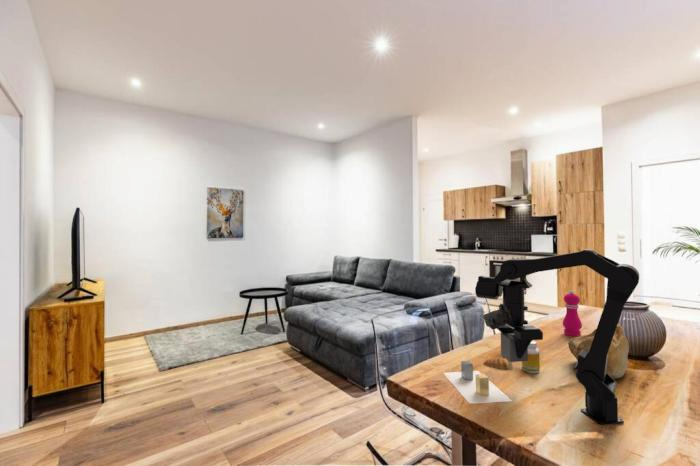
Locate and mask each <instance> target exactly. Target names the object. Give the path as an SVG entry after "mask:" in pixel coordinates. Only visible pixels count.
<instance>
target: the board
mask: <svg viewBox="0 0 700 466" xmlns="http://www.w3.org/2000/svg"><path fill="white" fill-rule="evenodd" d="M476 374H482V373H481V372H480V371H479V370H473V380H464V379H463V378H462V376H461V371H454V372H452V371H451V372H443V375H444V376H445V377H446V378H447V379H448V380H449V382H450V383H451V384H452V385H453V387H455V389H456V390H457V391H458V392H459V393H460V395H462V397H463V398H464V399H465V400H466V402H467V403H468V404H469V405H474V404H489V403H503V402H504V403H506V402H507V403H508V402H513V400H512V399H511V398H509V397H508V396H507V395H506V394H505V393H504V392H503V391H501V390H500V388H498V387H497V386H496V385H495V384H494V383H493V382H492V381H490V380H489V395H488V396H480V395H479V394H478V393H477V392H476Z"/></svg>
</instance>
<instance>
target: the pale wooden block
mask: <svg viewBox="0 0 700 466" xmlns="http://www.w3.org/2000/svg"><path fill="white" fill-rule="evenodd" d="M489 381H490V379H489V377H488V376H487V374H485V373H481V374H476V392H477V393H478V394H479V395H480V396H488V395H489Z"/></svg>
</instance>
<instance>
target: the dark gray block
mask: <svg viewBox="0 0 700 466" xmlns="http://www.w3.org/2000/svg"><path fill="white" fill-rule="evenodd" d="M510 335H515V334H514V333H501V332H500V355H501V357H502V358H504V359H507V360H508V361H510V362H512V363H514V362H516V363H517V362H520V363H521V362H522V361H528V348H527V349H526V351H525V353H524V355H523V356H522V358H517V354H516V346H515V340H514V339H513V338H512V337H511V336H510Z"/></svg>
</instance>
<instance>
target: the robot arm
mask: <svg viewBox="0 0 700 466" xmlns="http://www.w3.org/2000/svg"><path fill="white" fill-rule="evenodd" d="M581 266H586V267H587V268H589V269H590V270H593V272H595V273H597V274H598V275H600V276H602V277H604V278H606V279H607V283H606V297H605V298H606V301H605V303H604V306H603V309H602V311H601V315H600V317H599V321H598V324H597V327H596V333H595V336H594V339H593V342H592V345H591V347H590V349H589V350H588V352H587V351H585V350H583V349H582V350H581V352H580V354H579V356H578V361H577V362H576V364H575V365H574V368H573V370H574V371H576V373H575V375H576V380H577V381H578V382H579V383H580V384H581V385H582V386H583V387H584V389H585V391H584V393H585V394H584V398H585V400H584V401H585V403H584V405H585V407H584V408H580V412H582V413H583V414H584V415H586V416H587V417H589V418H590V419H592V420H593V421H594V422H596V423H597V424H599V425H608V424H609V425H610V424H623V423H625V420H624V419H623V418H621V417H619V415H618V414H619V413H618V411H619V410H618V409H619V407H618V405H619V404H618V397H617V396H616V390H617V389H616V388H617V381H616V380H615V379H613V378H612V377H611V376H610V375H609V374H608V373H607V372H606V369H607V357H608V351H609V348H610V345H611V342H612V339H613V336H614V333H615V330H616V327H617V324H619V321H620V318H621V315H622V314H623V313H622V312H623V309H624V307H625V305H626V304H627V301H628V300H629V298H630V297H631V296H632V294H633V292H634V291H635V289H636V288H637V286H638V285H639V282H640V273H639V271H638V270H637V268H636V267H634V266H633V265H630V264H626V263H621V264H620V263H618V262H616V261H615V260H612V259H611V258H608V257H606V256H604V255H602V254H600V253H598V252H597V251H595V250H593V249H591V248H586V249H582V250H580V251H574V252H573V251H572V252H567V253H563V254H562V253H561V254H556V255H550V256H544V257H540V258H539V257H538V258H529V257H527V258H525V257H524V258H523V257H522V258H521V257H520V258H511V259H507V260H504V261H503V262H502V263H501V264H500V267H499V270H500V271H498V273H497V274H496V275H495V276H494V277H492V276H485V275H478V279H477V282H476V285H475V288H474V289H475V291H474V292H475V296H476V297H477V298H479V299H488V300H495V301H496V300H498V299H499V297H500V298H501V297H502V303H499V305H498V309H497V310H492V311H489V312H488V313H484V314H483V315H482V317H483V320H484V323H485V326H486V327H488V328H490V329H491V330H496V329H497V330H498V331H499V332H500V334H501V333H514V334H515V335H510V336H511V337H512V338H513V339H514V340H515V346H516V354H517V358H522V356H523V355H524V353H525V351H526V349H527V348H528V346H529V344H530V343H531V342H532V341H541V340H542V341H543V340H544V338H543V337H544V334H543V333H544V331H542V329H540V327H539V328H538V327H536V326H534V325H529V324H528V323H529V321H528V320H526V319H525V318H526V317H525V311H528V309H529V308H528V306H527V305H525V289H531V288H532V287H533V284H532V283H531V282H529V281H528V280H527V278H524V279H522V280H517V279H520V278H523V277H527V276H530V275H532V274H536V273H539V272H546V271H554V270H558V269H559V270H560V269H567V268H572V267H573V268H575V267H581ZM508 280H509V282H505V281H508Z"/></svg>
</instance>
